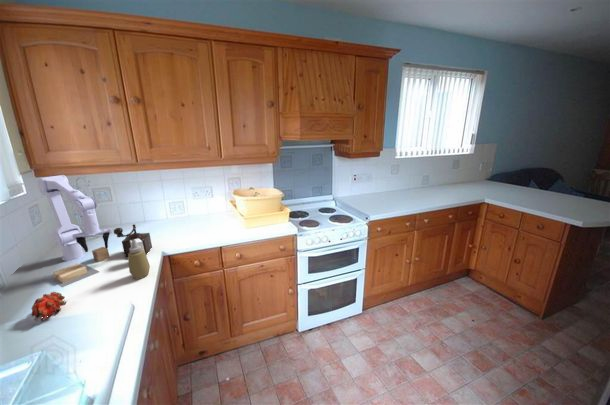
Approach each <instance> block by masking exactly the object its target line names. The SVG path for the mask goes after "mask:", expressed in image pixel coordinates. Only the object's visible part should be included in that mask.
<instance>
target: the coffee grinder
mask: <svg viewBox="0 0 610 405" xmlns="http://www.w3.org/2000/svg"><path fill="white" fill-rule="evenodd" d="M123 232H124V230H123V228H122V227H117V228H114V229H113V234H114V235H116V238H124V239H123V240H122V241H121V244H122V250H123V253H124V257H125V258H128V254H129V253H130V250H129V248H131V244H130V241H131V240H134V239H138V238H139V239H140V240H141V241H142V243H143V247H144V251H145V253H146V256H147V255H148V254H149V253H150V252H151V250H152V249H153V245H152V238H151V235H150V232H141V233H140V232H137V226H136V224H132V229H131V231H130V232H129V233H127V234H124V233H123ZM151 248H152V249H151ZM150 249H151V250H150ZM148 252H149V253H148ZM147 253H148V254H147Z"/></svg>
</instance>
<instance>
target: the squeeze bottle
mask: <svg viewBox="0 0 610 405" xmlns="http://www.w3.org/2000/svg"><path fill="white" fill-rule="evenodd" d="M129 250H130V253H129V254H128V257H127V258H128V261H127V262H128V268H129V273H130V274H131V276H132V277H133V278H134V279H136V280H138V279H139V280H140V279H143V278H145V277H148V275H149V273H150V269H151V266H150V263H149V262H150V261H149V260H148V257H147V255H146V253H145V251H144V250H142V247H141V246H140V245H138V244H137V242H136V240H132V247H131V248H129Z"/></svg>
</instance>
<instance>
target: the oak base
mask: <svg viewBox="0 0 610 405" xmlns="http://www.w3.org/2000/svg"><path fill="white" fill-rule="evenodd" d="M80 264H81V263H78V262H77V263H74V264H72V265H69V266H66V267H64V268H61V269H58V270H55V271H53V273H52V274H54V277H55V278H56V279H57V280H59V281H61V282H62V283H65V282H68V281H70V280H73V279H75V278H78V277H80V276H83V275H85V274H88V273H87V269H86V268H85V267H84V266H82V265H80Z"/></svg>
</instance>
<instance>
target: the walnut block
mask: <svg viewBox="0 0 610 405" xmlns="http://www.w3.org/2000/svg"><path fill="white" fill-rule="evenodd" d="M91 253H92V257H93V260H94V261H96V262H97V263H100V262H103V261H106V260H109V259H110V258H111V256H110V252H109V249H108V248H105V246H101V247H98V248H95V249H92V250H91Z"/></svg>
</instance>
